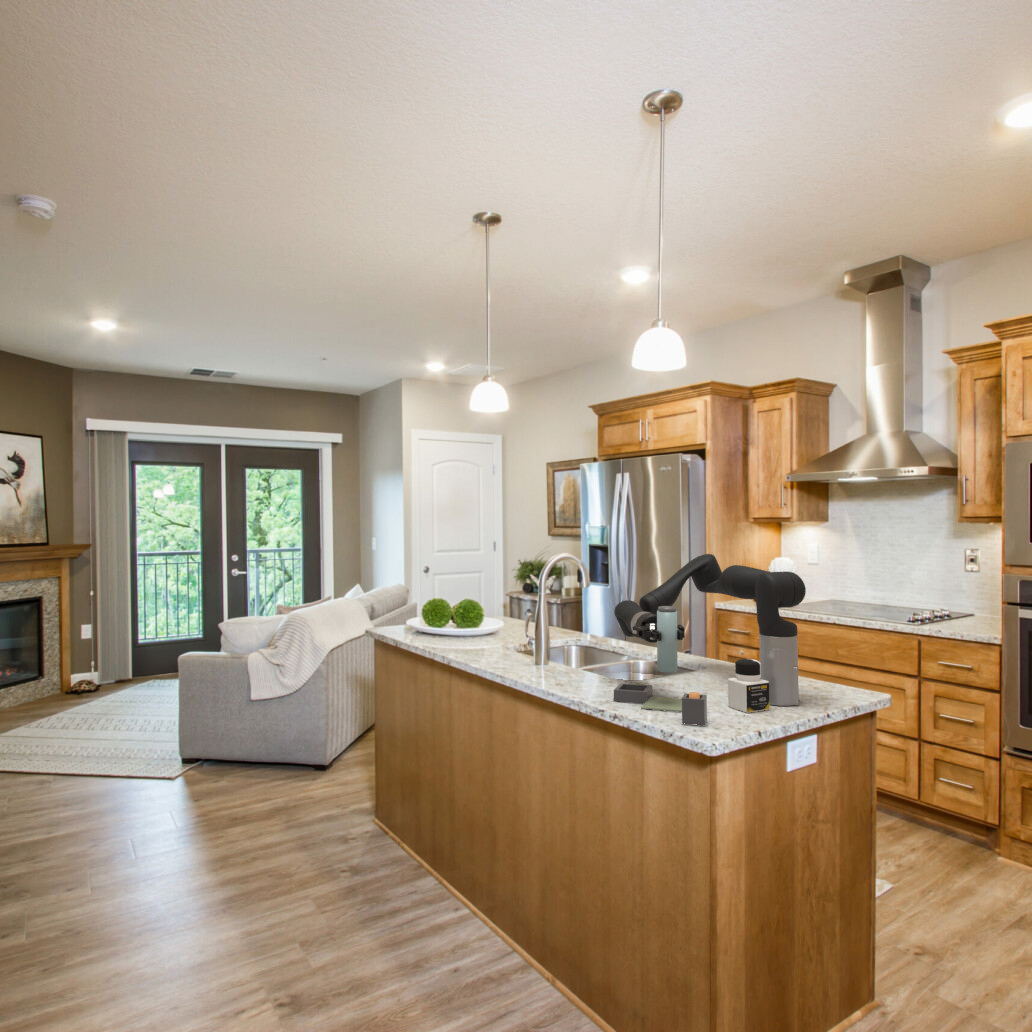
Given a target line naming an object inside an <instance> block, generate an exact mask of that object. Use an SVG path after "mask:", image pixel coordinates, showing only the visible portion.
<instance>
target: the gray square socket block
mask: <svg viewBox="0 0 1032 1032" xmlns="http://www.w3.org/2000/svg"><path fill="white" fill-rule="evenodd" d="M707 696H708V695H707V694H700V699H697V698H689V693H684V694H683V695H682V698H681V699H682V713H681V724H682V723H683V724H684V723H685V724H697V725H705V726H706V724H707V722H706V721H708V710H707V709H708V705H707V704H708V699H707ZM705 723H706V724H705ZM683 724H682V725H683Z"/></svg>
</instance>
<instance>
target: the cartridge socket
mask: <svg viewBox="0 0 1032 1032" xmlns="http://www.w3.org/2000/svg"><path fill="white" fill-rule="evenodd" d="M650 697H653V684H643V683H642V684H641V683H640V684H638V683H636V684H635V683H625V682H624V683H623V682H620V683H619V684H618V685H617V686H616V687H615V688H614V689H613V702H614V701H619V702H618V703H626V702H633V703H632V704H640V703H645V702H647V701H648V700H649V698H650Z"/></svg>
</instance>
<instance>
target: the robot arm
mask: <svg viewBox="0 0 1032 1032" xmlns="http://www.w3.org/2000/svg"><path fill="white" fill-rule="evenodd" d="M690 577H691V579H692V581H693V584H694V586H695V588H696V589H697V591H699V592H700V593H701V592H702V593H705V594H708V593H709V594H719V595H720V594H721V595H727V596H730V597H732V598H737V599H741V600H755V606H756V607H755V608H756V619H757V620H756V621H757V625H758V631H759V632H758V635H759V639H758V640H759V643H758V644H759V662H760V663H761V677H760V679H762V680H766V681H769V705H773V706H780V707H782V706H783V707H785V706H787V707H788V706H799V705H800V703H799V699H800V695H799V654H798V650H799V649H798V648H799V647H798V644H799V643H798V625H797V624H796V623H795V622H794V621H793V622H792V621H789V620H786V619H784V618H783V617H782V616H780V610H779V609H782V608H784V609H785V608H794V607H796V606H799V605H800V604H801V603H802V602H803V600H804V599H805V598H806V593H807V592H806V585H805V582H804V580H803V579H802V578H801V576H799V575H798V574H797V573H795V572H792V571H767V570H764V569H760V568H755V567H750V566H746V565H738V564H732V565H730V566H728V567H726V568H725V569H724V570H723V571H722V569H721V566H720V564H719V562H718V560H717V558H716V556H715V554H712V553H705V554H701V555H698V556H696V557H695V558H693V559H691V560H690V561H688V562H687V563H686V564H684V565H683V566H682V567H681V568H680V569H679V570H677V571H676V572H675V573H674V574H673V575H671V577H669V578H668V579H667V580H666V581H665V582H663V583H662V584H660V585H659V586H658V587H655V588H654V589H652V590H651V591H648V593H646V594H644V595H643V596H641V597H640V599H639V602H638V603H637V602H636V601H634V600H629V599H628V600H627V599H626V600H623V601H620V602H618V603H617V604H616V605H615V607H614V616H615V618H616V620H617V623H618V624H619V627H620V629H621V631H622V633H623V635H624V636H626V637H628V638H634V637H635V638H638V639H640V640H644V641H645V642H647V643H652V644H653V643H656V644H657V641H661V640H662V634H661V632H659V631H657V611H658V607H659V606H673V605H674V604H675V603H676V601H677V599H678V598H679V596H680V594H681V591H682V589H683V588H684V586H685V584H686V583H687V581H688V580H689V579H690ZM685 629H686V628H685V627H684V626H683V625H682V624H677V641H683V639H685V637H686V635H685Z"/></svg>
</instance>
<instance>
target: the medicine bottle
mask: <svg viewBox="0 0 1032 1032" xmlns="http://www.w3.org/2000/svg"><path fill="white" fill-rule="evenodd" d="M734 663H735V665H734V667H735V668H734V669H735V670H734V671H735V672H734V674H735V677H730V678H728V679H727V705H728V708H731V709H733V710H736V711H739V710H740V712H742V711H743V712H744V713H745V712H746V714H750V713H751V712H752V713H757V712H758V711H759V712H764V710H765V711H769V710H770V709H771V708H770V705H771V704H769V681H766V680H762V679H760V677H761V663H760V660H759V661H758V660H756V659H753V658H741V659H737V660H736V661H735V662H734Z"/></svg>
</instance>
